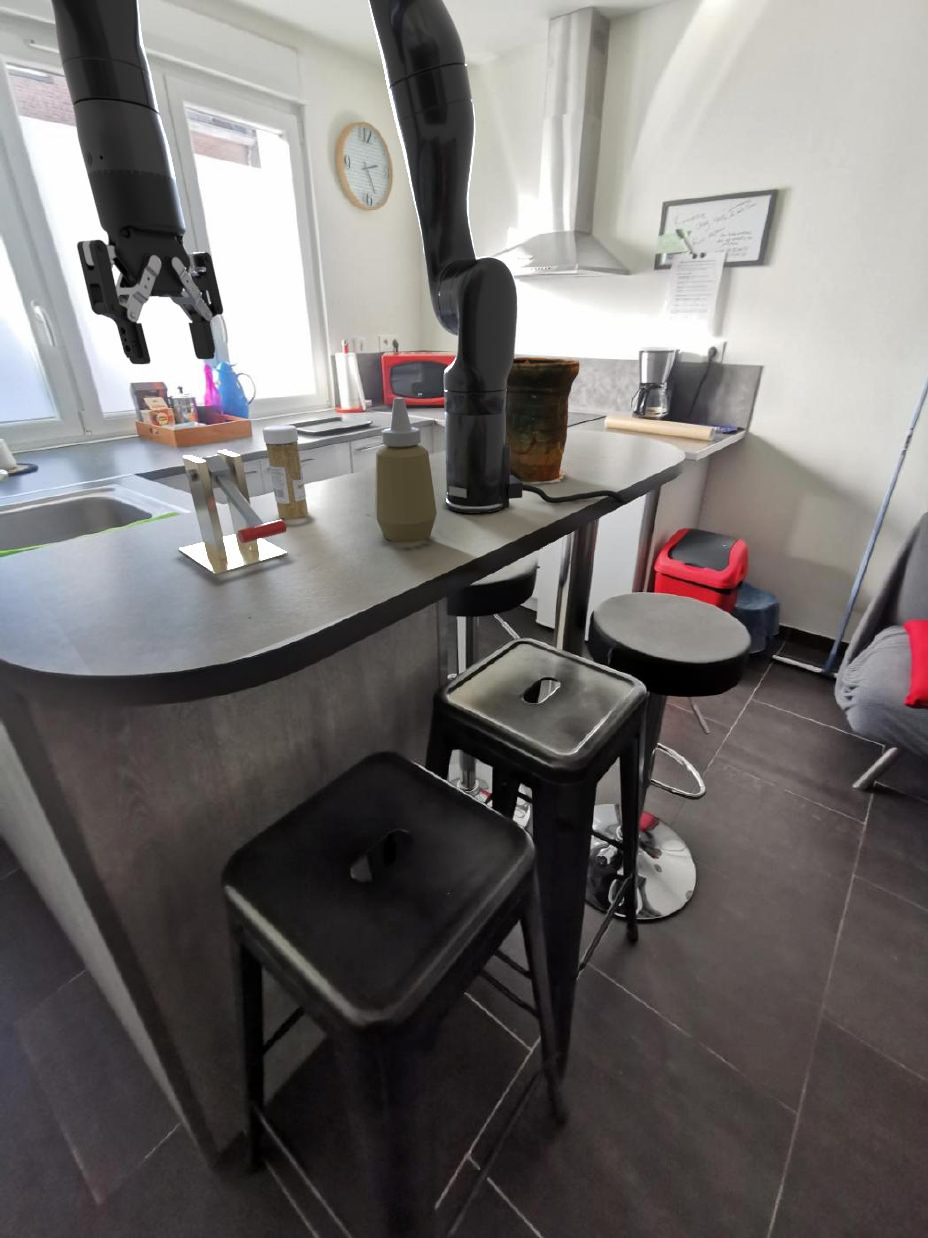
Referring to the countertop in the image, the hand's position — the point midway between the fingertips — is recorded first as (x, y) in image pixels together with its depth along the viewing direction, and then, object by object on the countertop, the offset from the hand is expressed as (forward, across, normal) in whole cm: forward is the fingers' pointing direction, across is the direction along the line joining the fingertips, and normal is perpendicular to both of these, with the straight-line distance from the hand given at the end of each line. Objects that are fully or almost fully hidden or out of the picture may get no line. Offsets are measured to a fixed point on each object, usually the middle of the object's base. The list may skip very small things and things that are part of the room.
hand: (175, 361), depth 61 cm
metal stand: (+23, 0, -3) cm, 23 cm away
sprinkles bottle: (+23, +15, 0) cm, 27 cm away
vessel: (+23, +53, -24) cm, 63 cm away
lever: (+15, -2, -7) cm, 17 cm away
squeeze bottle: (+23, +14, -20) cm, 33 cm away
